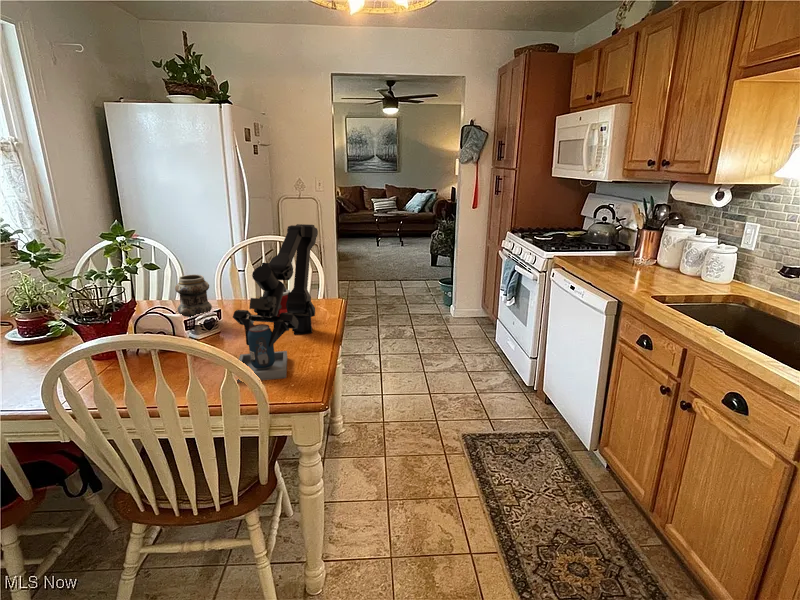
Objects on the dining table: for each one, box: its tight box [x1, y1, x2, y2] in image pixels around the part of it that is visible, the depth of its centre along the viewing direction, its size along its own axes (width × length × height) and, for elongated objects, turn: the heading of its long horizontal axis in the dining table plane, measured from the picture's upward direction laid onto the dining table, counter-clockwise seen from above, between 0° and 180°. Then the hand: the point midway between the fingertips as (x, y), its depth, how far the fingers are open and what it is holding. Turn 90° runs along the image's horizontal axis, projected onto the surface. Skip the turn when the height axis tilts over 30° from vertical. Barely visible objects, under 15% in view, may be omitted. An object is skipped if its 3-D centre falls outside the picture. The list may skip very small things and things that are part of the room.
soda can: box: [248, 323, 275, 369], centre depth 134 cm, size 7×7×12 cm
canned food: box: [277, 288, 291, 316], centre depth 178 cm, size 8×8×11 cm
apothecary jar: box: [174, 274, 213, 318], centre depth 172 cm, size 12×12×18 cm
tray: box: [237, 350, 288, 383], centre depth 135 cm, size 14×14×2 cm
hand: (258, 345), depth 132 cm, fingers closed on soda can, 7 cm apart
